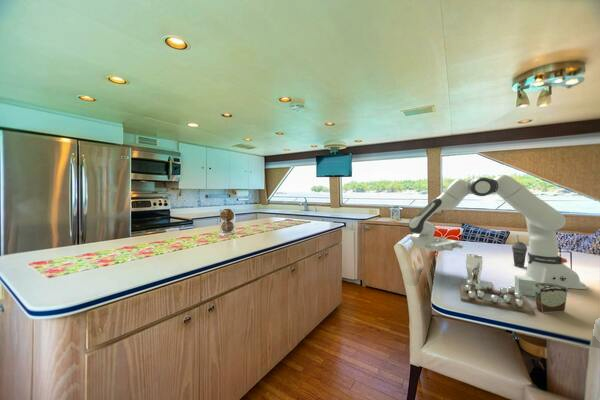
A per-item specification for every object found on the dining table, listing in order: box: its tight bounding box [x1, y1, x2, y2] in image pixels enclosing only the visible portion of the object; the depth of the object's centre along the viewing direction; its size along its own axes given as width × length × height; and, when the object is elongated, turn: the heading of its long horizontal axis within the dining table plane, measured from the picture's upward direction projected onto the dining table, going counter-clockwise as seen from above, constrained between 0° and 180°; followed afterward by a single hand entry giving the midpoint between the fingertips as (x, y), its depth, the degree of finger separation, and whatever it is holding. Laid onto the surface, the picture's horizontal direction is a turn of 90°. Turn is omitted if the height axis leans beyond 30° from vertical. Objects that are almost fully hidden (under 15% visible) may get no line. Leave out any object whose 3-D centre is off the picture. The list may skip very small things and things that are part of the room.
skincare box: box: [514, 275, 537, 297], centre depth 116 cm, size 6×6×7 cm
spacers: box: [465, 280, 523, 309], centre depth 110 cm, size 20×17×4 cm
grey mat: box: [461, 277, 496, 290], centre depth 127 cm, size 13×12×1 cm
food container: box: [533, 282, 570, 314], centre depth 100 cm, size 12×6×10 cm, turn 92°
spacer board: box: [459, 284, 534, 315], centre depth 110 cm, size 24×18×1 cm
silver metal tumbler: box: [465, 254, 483, 287], centre depth 126 cm, size 7×7×15 cm
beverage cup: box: [511, 234, 528, 268], centre depth 154 cm, size 7×7×20 cm
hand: (457, 248), depth 138 cm, fingers open, 8 cm apart
